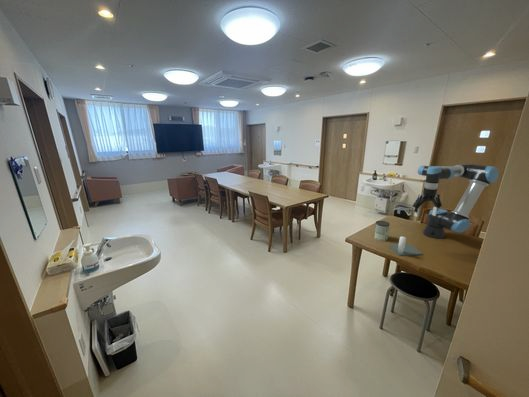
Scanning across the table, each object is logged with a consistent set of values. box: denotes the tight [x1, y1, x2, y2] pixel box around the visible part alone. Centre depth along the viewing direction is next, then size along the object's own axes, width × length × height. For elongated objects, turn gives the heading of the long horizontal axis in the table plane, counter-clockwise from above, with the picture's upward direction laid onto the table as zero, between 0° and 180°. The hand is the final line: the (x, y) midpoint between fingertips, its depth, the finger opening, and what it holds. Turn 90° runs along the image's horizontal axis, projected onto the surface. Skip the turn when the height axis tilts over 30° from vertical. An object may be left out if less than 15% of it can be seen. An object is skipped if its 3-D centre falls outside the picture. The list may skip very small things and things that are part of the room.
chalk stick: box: [397, 236, 407, 253], centre depth 157 cm, size 4×4×12 cm
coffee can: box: [373, 220, 391, 242], centre depth 181 cm, size 10×10×14 cm
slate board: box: [388, 243, 423, 257], centre depth 163 cm, size 17×14×1 cm
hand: (424, 215), depth 158 cm, fingers open, 13 cm apart
